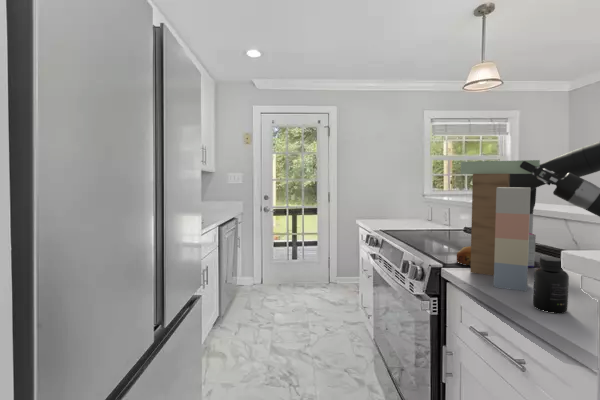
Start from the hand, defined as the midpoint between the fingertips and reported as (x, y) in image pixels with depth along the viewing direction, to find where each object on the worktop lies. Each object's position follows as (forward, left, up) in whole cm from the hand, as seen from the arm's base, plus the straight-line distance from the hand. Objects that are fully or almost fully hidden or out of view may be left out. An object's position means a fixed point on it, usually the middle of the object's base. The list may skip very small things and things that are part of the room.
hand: (522, 164), depth 118 cm
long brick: (0, -6, -3) cm, 7 cm away
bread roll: (-11, -15, -35) cm, 40 cm away
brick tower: (+14, -1, -35) cm, 38 cm away
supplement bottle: (+31, +8, -35) cm, 47 cm away
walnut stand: (0, -8, -35) cm, 36 cm away
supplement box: (-16, +1, -35) cm, 39 cm away
